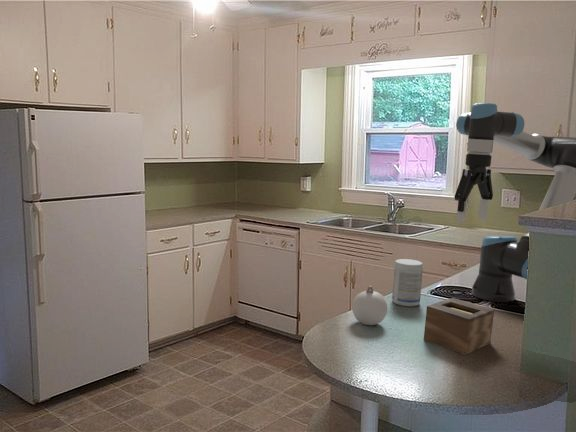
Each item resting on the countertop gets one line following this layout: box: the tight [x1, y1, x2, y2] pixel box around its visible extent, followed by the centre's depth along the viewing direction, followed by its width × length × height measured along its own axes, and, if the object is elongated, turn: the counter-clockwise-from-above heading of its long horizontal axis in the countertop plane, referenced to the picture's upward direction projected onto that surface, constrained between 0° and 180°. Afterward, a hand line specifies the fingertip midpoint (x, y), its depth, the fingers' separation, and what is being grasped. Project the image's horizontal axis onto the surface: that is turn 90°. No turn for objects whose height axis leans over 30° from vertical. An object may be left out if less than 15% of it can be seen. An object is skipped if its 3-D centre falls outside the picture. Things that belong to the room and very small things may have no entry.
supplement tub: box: [391, 258, 423, 307], centre depth 185 cm, size 10×10×15 cm
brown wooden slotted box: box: [423, 297, 495, 356], centre depth 152 cm, size 14×13×10 cm
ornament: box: [352, 285, 388, 326], centre depth 162 cm, size 10×10×12 cm
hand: (471, 220), depth 171 cm, fingers open, 13 cm apart
